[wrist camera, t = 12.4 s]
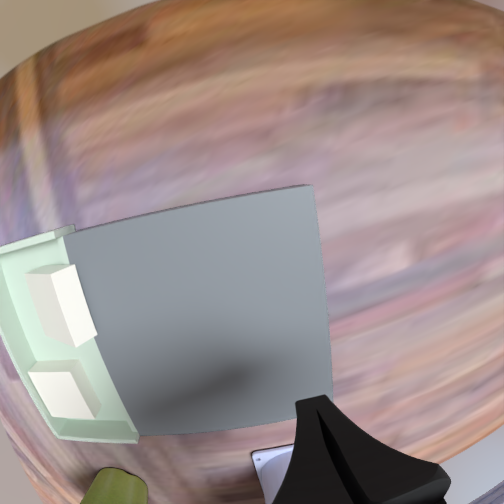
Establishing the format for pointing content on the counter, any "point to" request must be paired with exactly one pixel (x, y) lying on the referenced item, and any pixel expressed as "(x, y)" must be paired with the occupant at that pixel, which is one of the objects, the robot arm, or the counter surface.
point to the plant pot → (116, 488)
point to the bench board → (210, 310)
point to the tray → (54, 342)
